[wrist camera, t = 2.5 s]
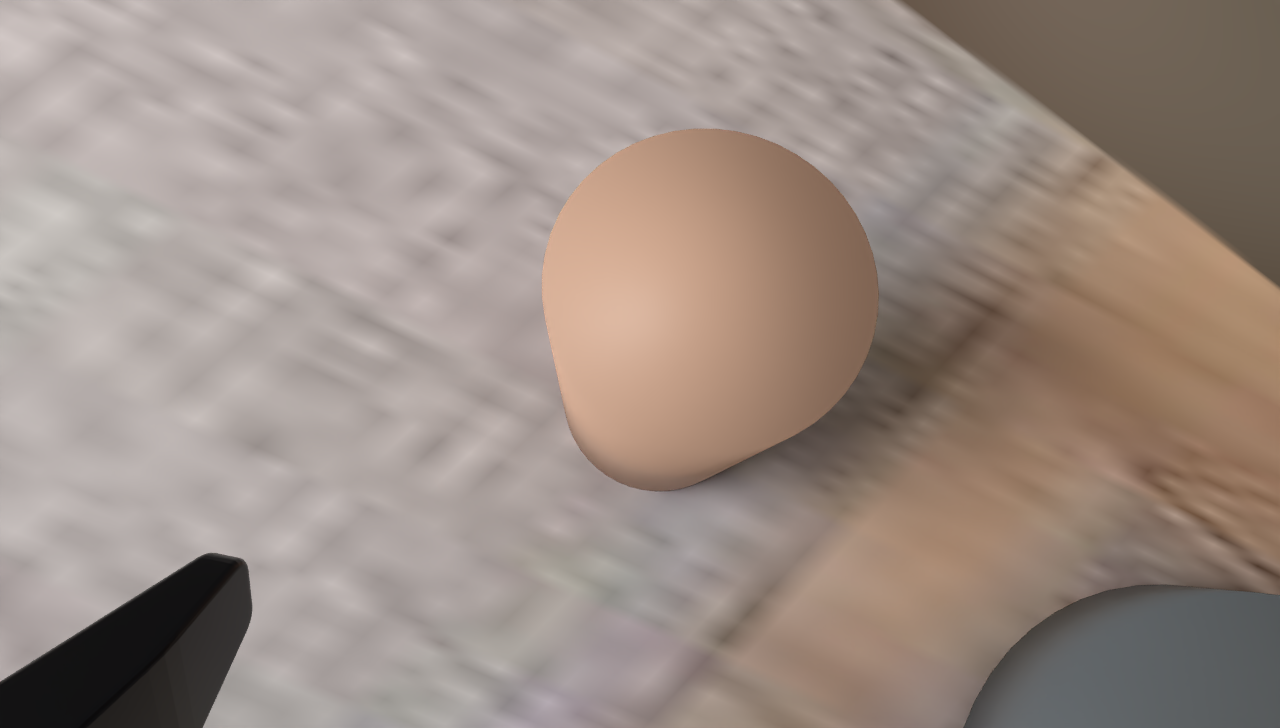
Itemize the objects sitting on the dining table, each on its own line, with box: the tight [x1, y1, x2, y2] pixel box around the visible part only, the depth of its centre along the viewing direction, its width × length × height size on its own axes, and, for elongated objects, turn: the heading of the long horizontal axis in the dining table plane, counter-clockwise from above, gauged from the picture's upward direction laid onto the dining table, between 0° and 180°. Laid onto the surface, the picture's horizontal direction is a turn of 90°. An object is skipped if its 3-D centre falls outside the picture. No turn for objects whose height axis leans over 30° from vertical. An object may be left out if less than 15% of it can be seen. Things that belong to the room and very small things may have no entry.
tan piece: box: [542, 129, 879, 491], centre depth 17 cm, size 5×5×10 cm
